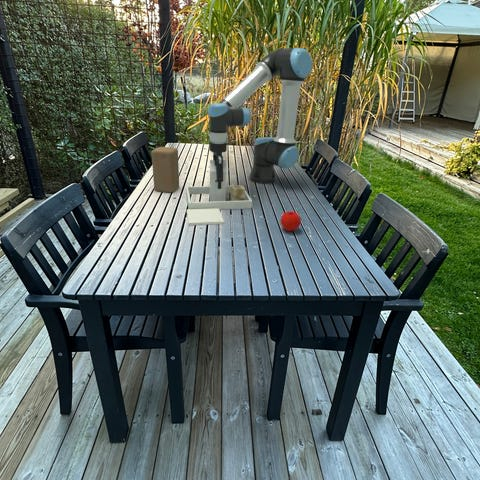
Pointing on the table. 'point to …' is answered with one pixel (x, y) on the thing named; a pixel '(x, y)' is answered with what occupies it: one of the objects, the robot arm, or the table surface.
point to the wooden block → (165, 169)
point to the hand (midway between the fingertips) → (217, 191)
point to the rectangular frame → (216, 204)
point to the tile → (204, 216)
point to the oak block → (237, 193)
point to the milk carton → (213, 183)
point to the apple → (290, 221)
